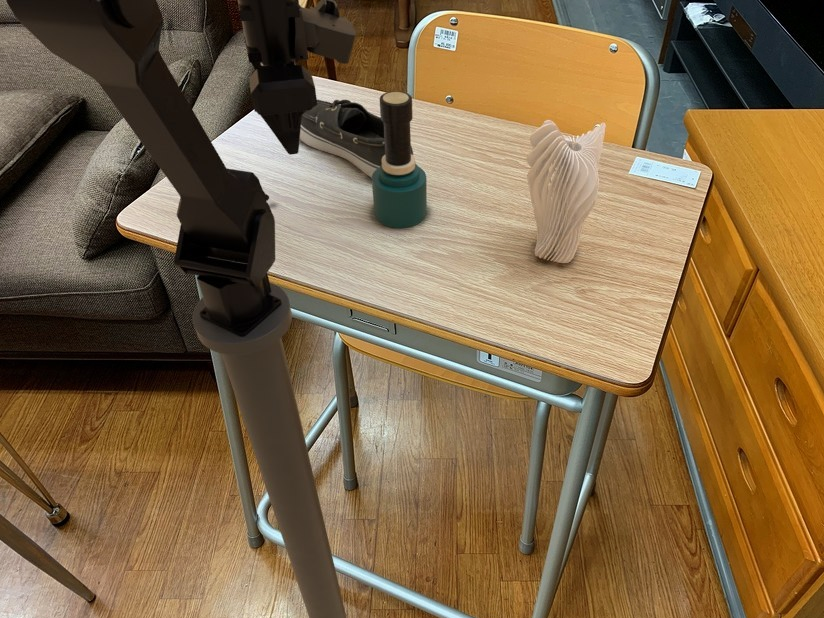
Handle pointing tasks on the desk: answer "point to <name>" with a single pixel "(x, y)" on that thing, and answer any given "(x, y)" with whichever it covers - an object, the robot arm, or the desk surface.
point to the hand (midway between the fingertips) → (289, 133)
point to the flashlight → (396, 126)
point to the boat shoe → (346, 133)
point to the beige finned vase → (563, 187)
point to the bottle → (399, 194)
